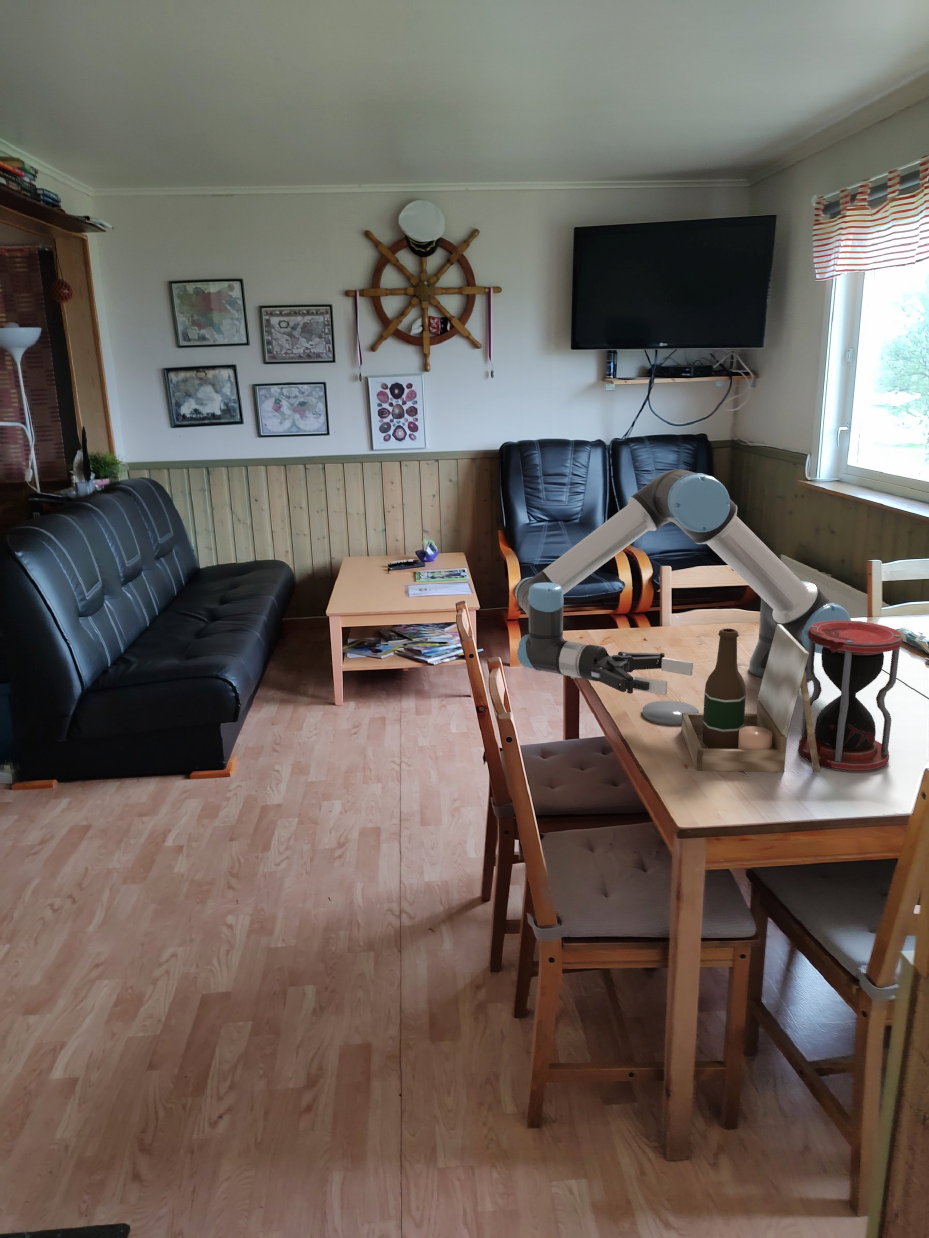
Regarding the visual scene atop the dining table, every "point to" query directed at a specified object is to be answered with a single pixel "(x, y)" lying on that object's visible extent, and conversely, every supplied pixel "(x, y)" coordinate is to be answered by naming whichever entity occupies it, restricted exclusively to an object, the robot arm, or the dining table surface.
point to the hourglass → (850, 694)
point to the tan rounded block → (754, 738)
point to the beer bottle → (724, 697)
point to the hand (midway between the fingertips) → (679, 678)
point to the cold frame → (763, 714)
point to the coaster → (667, 712)
